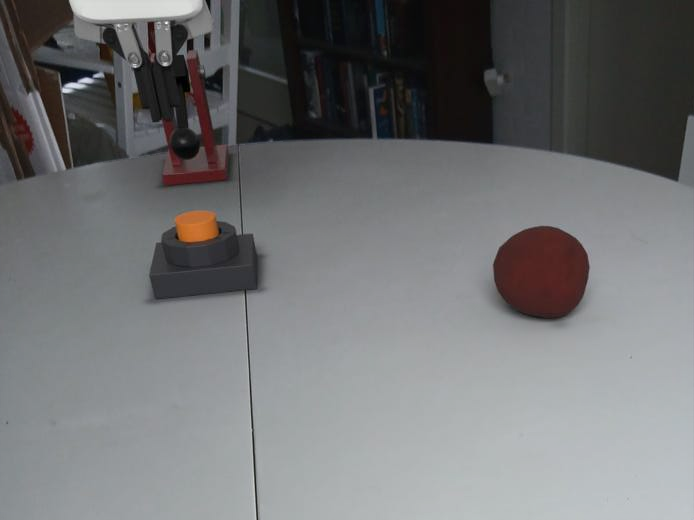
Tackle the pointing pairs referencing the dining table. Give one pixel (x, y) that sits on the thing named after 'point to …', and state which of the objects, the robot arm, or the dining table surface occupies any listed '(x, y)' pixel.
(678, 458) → the dining table surface
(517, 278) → the potato
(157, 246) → the control block
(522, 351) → the dining table surface
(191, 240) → the button
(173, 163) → the red lever stand
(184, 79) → the black ball lever
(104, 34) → the robot arm
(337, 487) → the dining table surface
